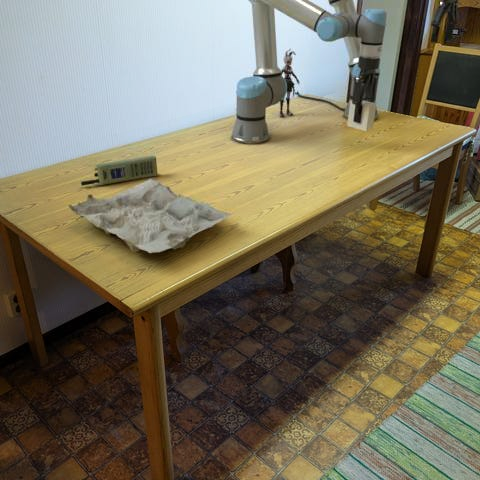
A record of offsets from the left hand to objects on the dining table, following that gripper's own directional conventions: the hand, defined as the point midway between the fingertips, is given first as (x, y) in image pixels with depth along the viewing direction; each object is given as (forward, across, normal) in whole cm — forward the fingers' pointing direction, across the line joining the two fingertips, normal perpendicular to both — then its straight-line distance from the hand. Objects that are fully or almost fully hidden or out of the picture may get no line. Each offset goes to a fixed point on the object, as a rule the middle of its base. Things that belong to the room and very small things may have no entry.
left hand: (360, 120), depth 193 cm
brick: (+3, 0, 0) cm, 3 cm away
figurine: (+11, +14, +49) cm, 52 cm away
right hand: (-22, +66, +4) cm, 70 cm away
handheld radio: (+11, -85, +36) cm, 93 cm away
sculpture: (+11, -98, +3) cm, 98 cm away
